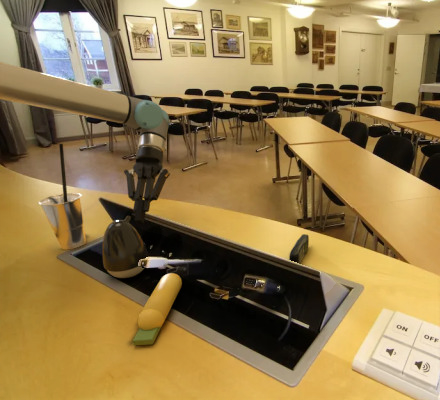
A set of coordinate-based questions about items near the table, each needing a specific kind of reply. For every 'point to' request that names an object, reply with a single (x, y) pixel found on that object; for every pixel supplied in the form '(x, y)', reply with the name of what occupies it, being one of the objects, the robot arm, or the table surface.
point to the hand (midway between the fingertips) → (139, 222)
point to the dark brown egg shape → (122, 249)
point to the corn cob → (157, 309)
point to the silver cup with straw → (65, 214)
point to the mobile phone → (299, 249)
